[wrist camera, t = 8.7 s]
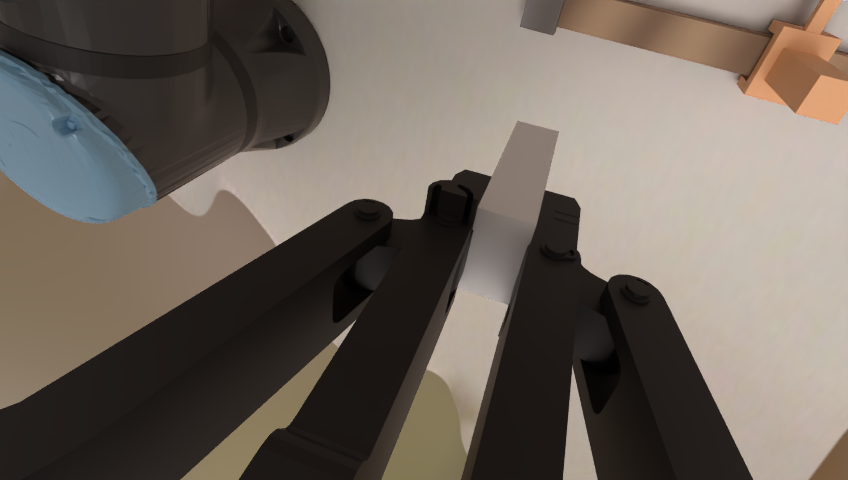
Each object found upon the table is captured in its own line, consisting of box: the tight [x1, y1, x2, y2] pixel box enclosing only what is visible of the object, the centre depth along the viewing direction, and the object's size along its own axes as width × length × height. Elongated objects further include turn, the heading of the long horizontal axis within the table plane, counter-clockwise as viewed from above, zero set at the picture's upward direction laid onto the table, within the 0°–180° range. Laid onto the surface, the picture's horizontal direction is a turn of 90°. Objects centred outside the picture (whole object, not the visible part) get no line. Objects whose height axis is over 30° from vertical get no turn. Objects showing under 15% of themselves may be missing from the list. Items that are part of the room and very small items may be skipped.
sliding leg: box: [737, 0, 848, 124], centre depth 26 cm, size 3×10×10 cm, turn 172°
